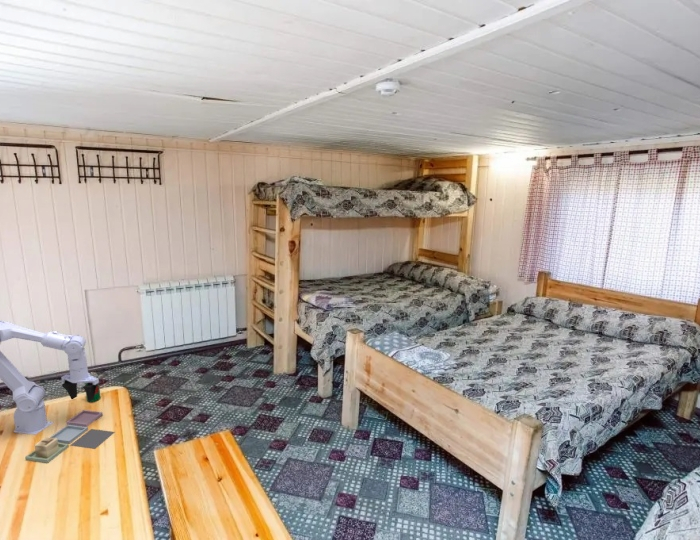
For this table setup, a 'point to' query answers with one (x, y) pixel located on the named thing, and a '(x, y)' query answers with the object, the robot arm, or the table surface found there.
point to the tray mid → (69, 433)
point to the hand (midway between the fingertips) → (82, 398)
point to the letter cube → (46, 447)
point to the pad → (92, 439)
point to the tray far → (84, 418)
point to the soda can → (97, 392)
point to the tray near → (46, 460)
